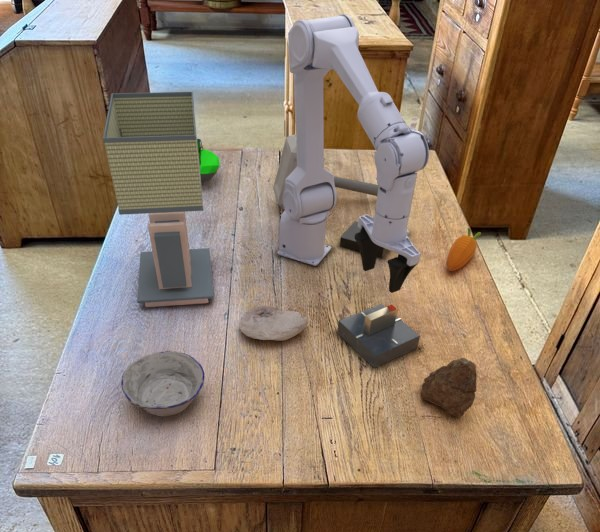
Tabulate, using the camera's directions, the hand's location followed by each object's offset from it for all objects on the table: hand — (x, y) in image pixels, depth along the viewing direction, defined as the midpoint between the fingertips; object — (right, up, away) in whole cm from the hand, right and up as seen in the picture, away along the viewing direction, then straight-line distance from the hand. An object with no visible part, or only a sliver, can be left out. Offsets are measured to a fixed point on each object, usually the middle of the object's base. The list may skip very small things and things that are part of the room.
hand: (381, 279), depth 104 cm
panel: (-1, -11, +1) cm, 11 cm away
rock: (+9, -23, -10) cm, 27 cm away
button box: (0, +13, +24) cm, 27 cm away
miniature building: (-41, +34, +42) cm, 67 cm away
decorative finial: (+7, +17, +28) cm, 33 cm away
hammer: (-6, +26, +36) cm, 44 cm away
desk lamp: (-40, +1, +11) cm, 41 cm away
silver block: (-1, -9, -1) cm, 9 cm away
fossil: (-20, -10, +2) cm, 22 cm away
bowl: (-36, -22, -10) cm, 44 cm away
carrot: (+16, +5, +14) cm, 22 cm away
